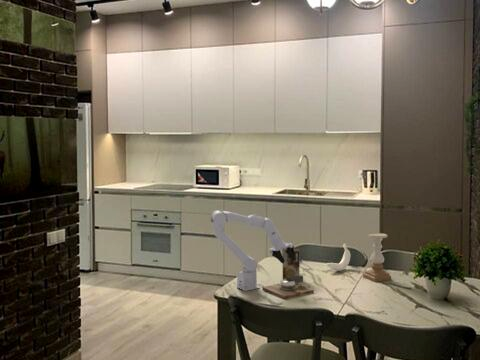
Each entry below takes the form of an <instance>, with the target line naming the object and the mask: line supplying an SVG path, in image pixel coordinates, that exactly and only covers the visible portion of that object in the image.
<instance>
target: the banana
mask: <svg viewBox="0 0 480 360" xmlns="http://www.w3.org/2000/svg"><path fill="white" fill-rule="evenodd" d="M342 248H343V249H344V253H343V255H342V258H341V261H340V262H339V263H336V262H335V263H334V262H327V263H326V266H327V268H329V269H331V270H333V271H337V272H342V271H345V270H346V269H347V267H348V266H349V263H350V260H351V252H350V250H349V249H348V247H347V244H346V243H345V242H343V245H342Z"/></svg>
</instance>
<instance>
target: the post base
mask: <svg viewBox="0 0 480 360" xmlns="http://www.w3.org/2000/svg"><path fill="white" fill-rule="evenodd" d="M262 291H264V292H266V293H269V294H271V295H273V296H276V297H278V298H281V299H284V300H288V299H292V298H297V297H301V296H306V295H310V294H314V293H315V290H314V289H313V288H310V287H307V286H305V285H303V284H301V283H295V287H294V288H283V287H281V282H280V283H276V284H272V285H267V286H263V287H262Z"/></svg>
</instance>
